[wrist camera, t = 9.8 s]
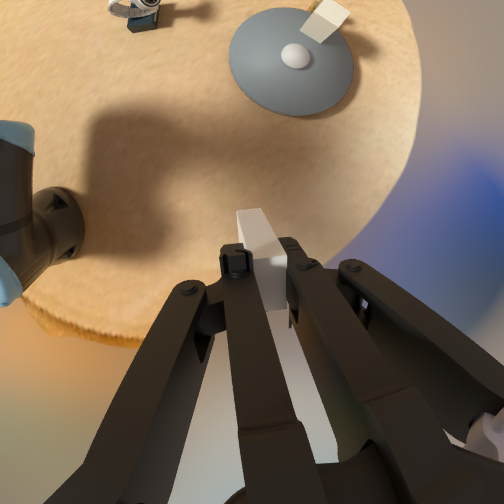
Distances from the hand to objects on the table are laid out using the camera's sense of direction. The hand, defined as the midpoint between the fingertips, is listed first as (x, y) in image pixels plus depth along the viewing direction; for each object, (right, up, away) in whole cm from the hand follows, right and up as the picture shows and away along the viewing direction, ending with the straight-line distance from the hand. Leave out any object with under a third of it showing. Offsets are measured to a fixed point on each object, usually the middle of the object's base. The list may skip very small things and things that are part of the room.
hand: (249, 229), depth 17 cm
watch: (-18, +38, +13) cm, 44 cm away
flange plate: (+7, +30, +17) cm, 35 cm away
